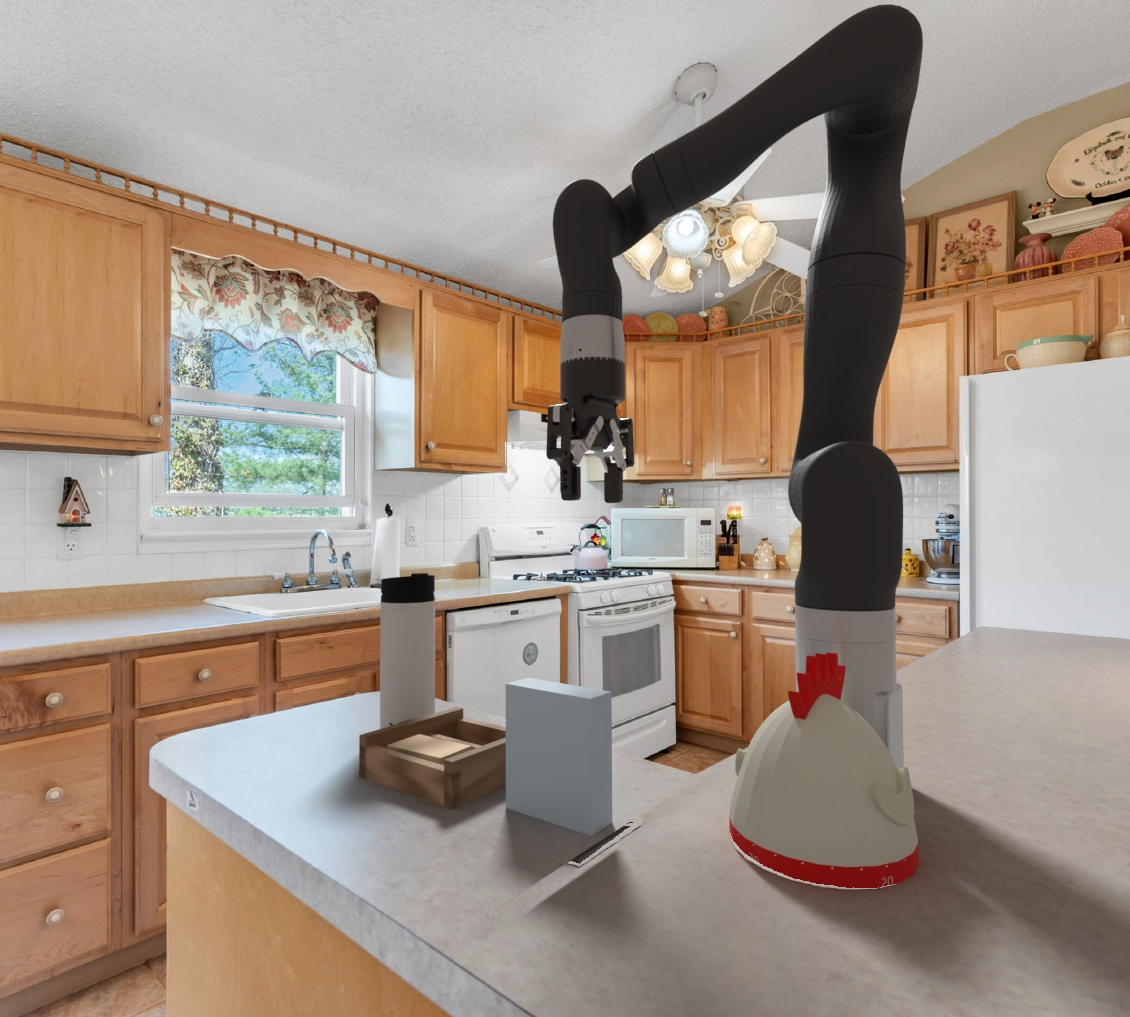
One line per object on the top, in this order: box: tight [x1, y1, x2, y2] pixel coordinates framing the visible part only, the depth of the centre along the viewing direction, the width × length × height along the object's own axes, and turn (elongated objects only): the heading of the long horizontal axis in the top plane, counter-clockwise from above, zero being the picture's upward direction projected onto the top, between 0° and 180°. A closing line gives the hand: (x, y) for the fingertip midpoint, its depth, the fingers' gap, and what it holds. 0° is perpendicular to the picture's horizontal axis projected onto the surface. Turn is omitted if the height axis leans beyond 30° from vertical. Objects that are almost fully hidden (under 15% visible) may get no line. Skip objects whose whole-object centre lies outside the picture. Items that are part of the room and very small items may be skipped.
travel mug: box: [379, 572, 436, 729], centre depth 80 cm, size 6×7×20 cm
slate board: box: [505, 677, 613, 837], centre depth 58 cm, size 9×3×11 cm, turn 53°
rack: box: [358, 706, 506, 810], centre depth 68 cm, size 13×13×5 cm
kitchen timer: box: [728, 652, 920, 888], centre depth 55 cm, size 14×14×15 cm
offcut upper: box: [387, 734, 471, 765], centre depth 66 cm, size 7×4×2 cm, turn 57°
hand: (593, 501), depth 79 cm, fingers open, 8 cm apart
